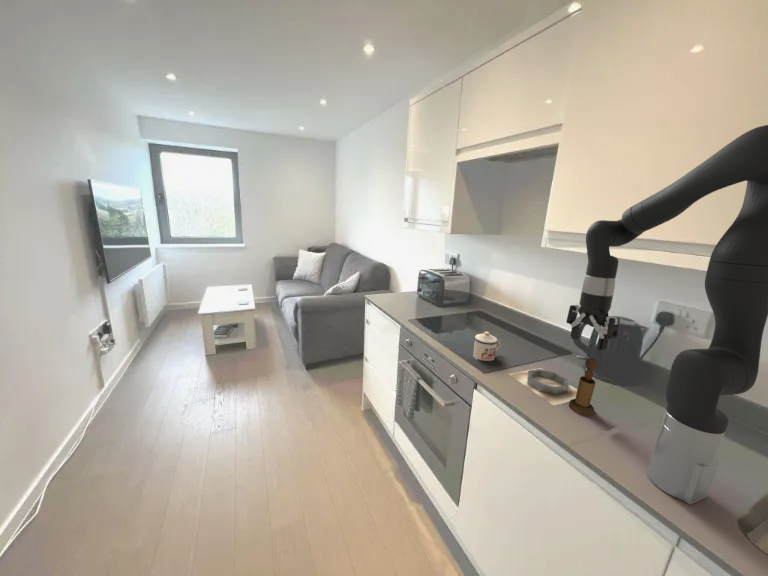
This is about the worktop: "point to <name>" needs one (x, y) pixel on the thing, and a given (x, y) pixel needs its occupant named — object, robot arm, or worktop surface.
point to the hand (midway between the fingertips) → (587, 344)
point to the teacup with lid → (485, 347)
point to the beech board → (548, 397)
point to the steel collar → (546, 388)
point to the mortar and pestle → (585, 391)
